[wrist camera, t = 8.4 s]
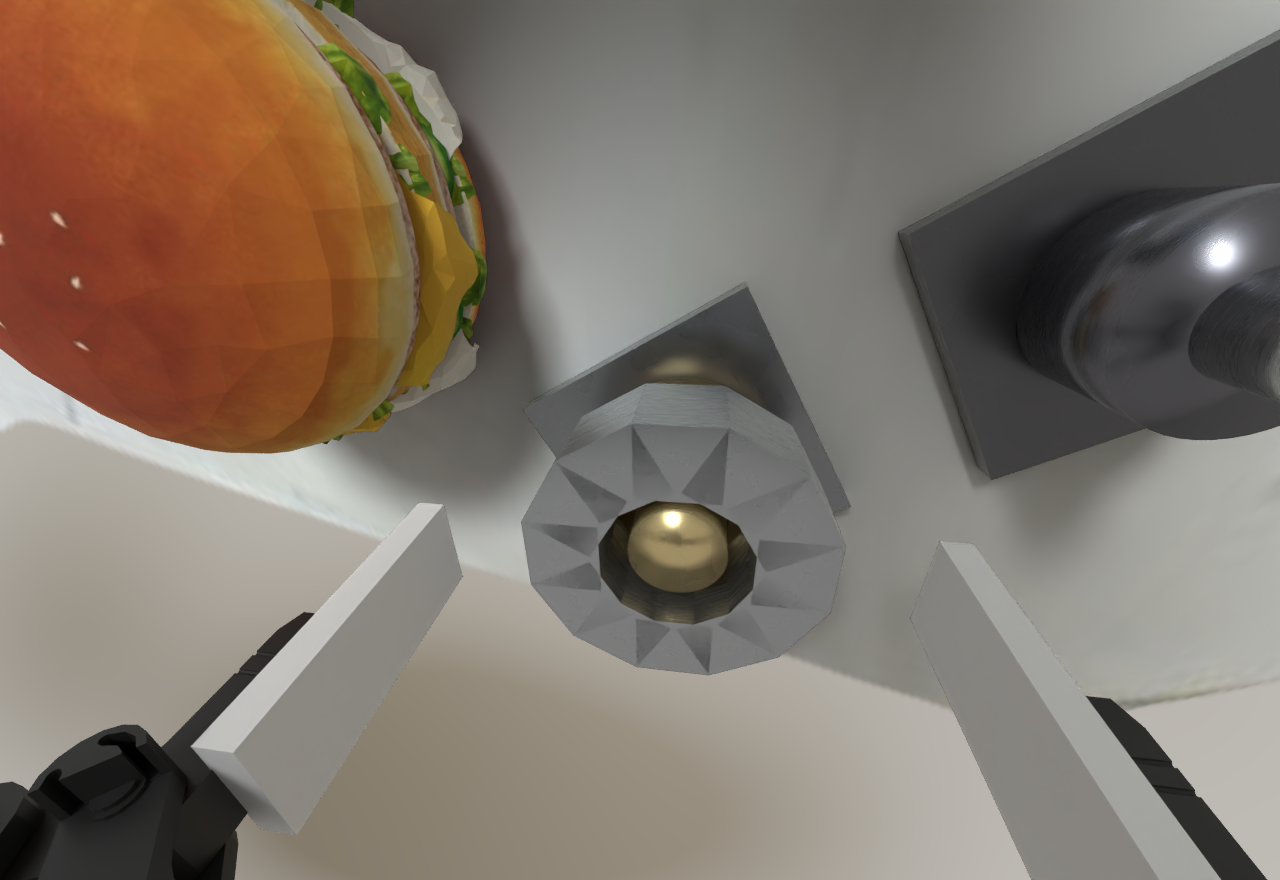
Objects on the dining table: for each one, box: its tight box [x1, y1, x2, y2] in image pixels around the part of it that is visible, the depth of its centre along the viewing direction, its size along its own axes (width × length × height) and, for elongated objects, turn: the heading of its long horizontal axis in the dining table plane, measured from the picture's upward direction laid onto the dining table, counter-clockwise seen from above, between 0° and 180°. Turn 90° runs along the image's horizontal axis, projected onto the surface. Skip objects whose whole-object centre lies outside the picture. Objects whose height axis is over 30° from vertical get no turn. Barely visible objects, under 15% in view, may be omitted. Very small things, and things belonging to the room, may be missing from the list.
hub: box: [523, 283, 851, 593], centre depth 17 cm, size 10×10×7 cm
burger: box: [0, 0, 487, 453], centre depth 13 cm, size 13×14×10 cm
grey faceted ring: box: [521, 383, 846, 675], centre depth 15 cm, size 9×9×3 cm
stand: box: [898, 30, 1280, 480], centre depth 11 cm, size 10×10×9 cm
